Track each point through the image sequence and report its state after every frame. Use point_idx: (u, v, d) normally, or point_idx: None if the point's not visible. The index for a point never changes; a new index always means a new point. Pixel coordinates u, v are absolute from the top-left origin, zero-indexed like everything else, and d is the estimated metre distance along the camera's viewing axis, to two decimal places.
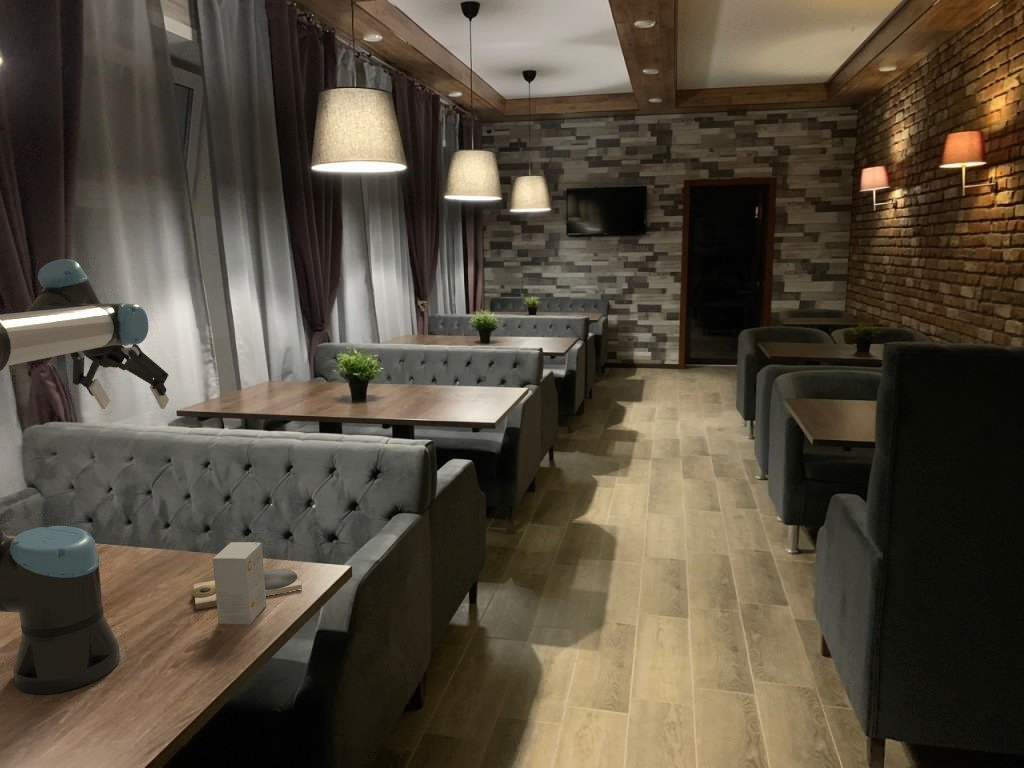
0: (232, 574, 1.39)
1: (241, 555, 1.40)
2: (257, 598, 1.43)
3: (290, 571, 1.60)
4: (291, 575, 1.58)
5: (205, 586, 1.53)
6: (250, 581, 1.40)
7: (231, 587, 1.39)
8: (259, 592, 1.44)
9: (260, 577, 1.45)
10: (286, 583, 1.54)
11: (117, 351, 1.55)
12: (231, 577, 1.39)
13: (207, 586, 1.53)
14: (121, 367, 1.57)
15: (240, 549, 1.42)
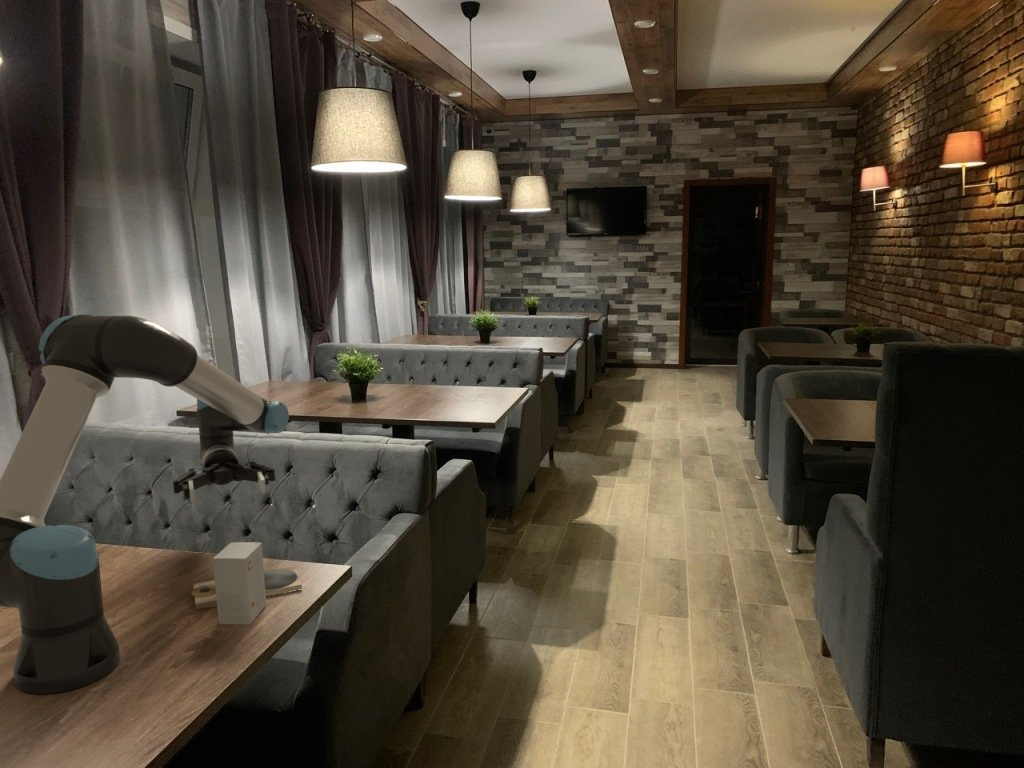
0: (232, 574, 1.39)
1: (241, 555, 1.40)
2: (257, 598, 1.43)
3: (290, 571, 1.60)
4: (291, 575, 1.58)
5: (205, 586, 1.53)
6: (250, 581, 1.40)
7: (231, 587, 1.39)
8: (259, 592, 1.44)
9: (260, 577, 1.45)
10: (286, 583, 1.54)
11: (238, 464, 1.70)
12: (231, 577, 1.39)
13: (207, 586, 1.53)
14: (237, 465, 1.66)
15: (240, 549, 1.42)
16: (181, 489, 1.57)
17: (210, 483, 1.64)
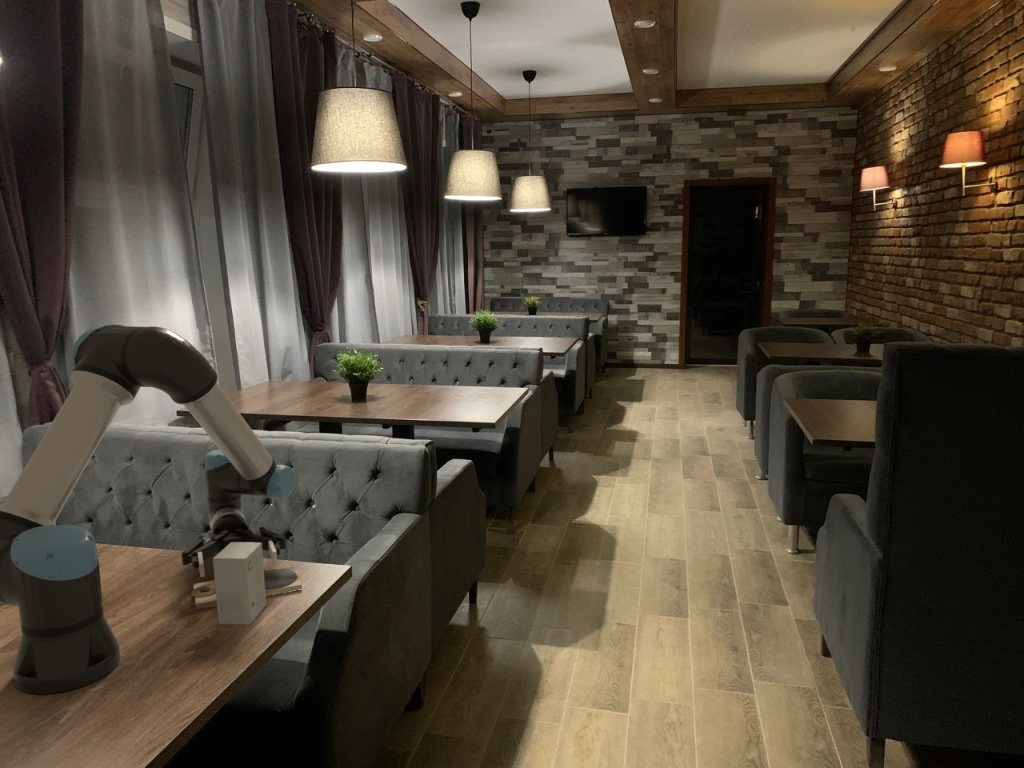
0: (232, 574, 1.39)
1: (241, 555, 1.40)
2: (257, 598, 1.43)
3: (290, 571, 1.60)
4: (291, 575, 1.58)
5: (205, 586, 1.53)
6: (250, 581, 1.40)
7: (231, 587, 1.39)
8: (259, 592, 1.44)
9: (260, 577, 1.45)
10: (286, 583, 1.54)
11: (248, 529, 1.66)
12: (231, 577, 1.39)
13: (207, 586, 1.53)
14: (247, 532, 1.62)
15: (240, 549, 1.42)
16: (190, 561, 1.52)
17: (219, 552, 1.59)
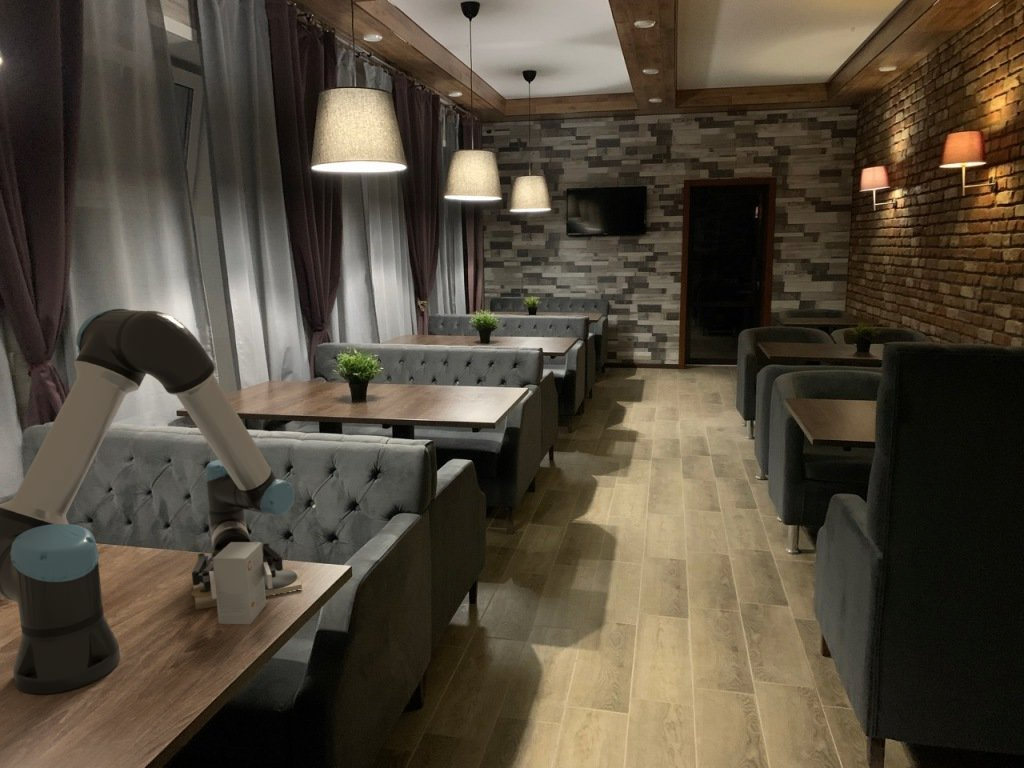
0: (232, 574, 1.39)
1: (241, 555, 1.40)
2: (257, 598, 1.43)
3: (290, 571, 1.60)
4: (291, 575, 1.58)
5: None
6: (250, 580, 1.40)
7: (231, 587, 1.39)
8: (259, 592, 1.44)
9: (260, 577, 1.45)
10: (286, 583, 1.54)
11: None
12: (231, 577, 1.39)
13: None
14: None
15: (240, 549, 1.42)
16: (201, 580, 1.42)
17: None
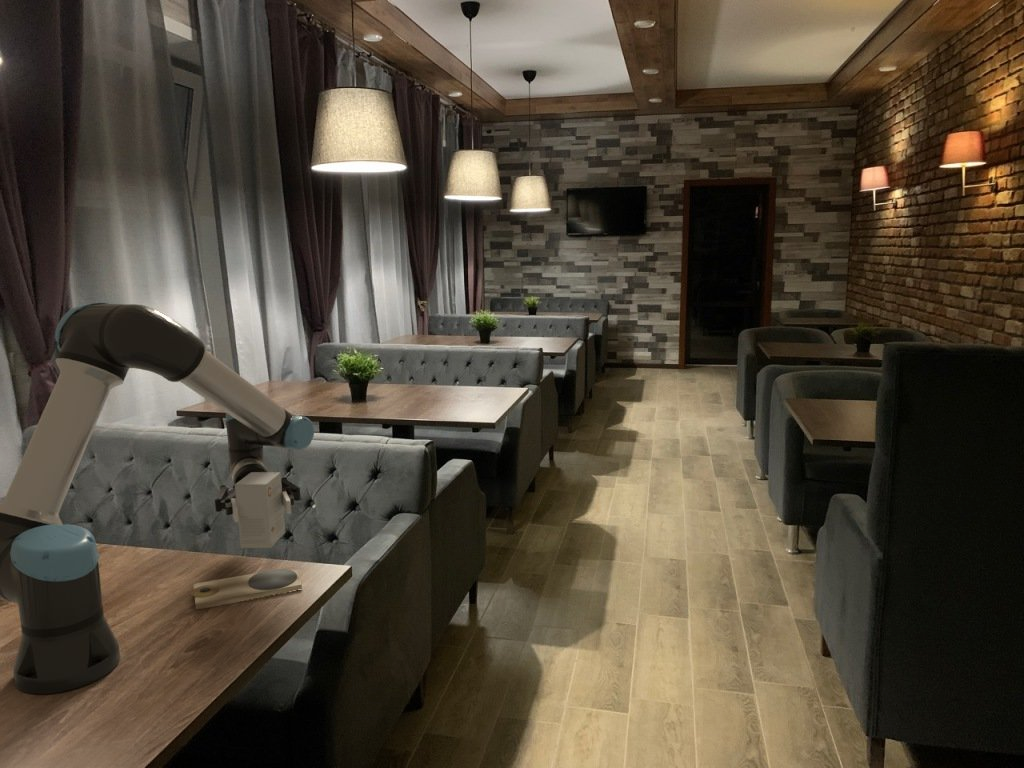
0: (253, 499, 1.46)
1: (261, 481, 1.46)
2: (276, 524, 1.50)
3: (290, 571, 1.60)
4: (291, 575, 1.58)
5: (205, 586, 1.53)
6: (270, 506, 1.47)
7: (252, 512, 1.46)
8: (278, 518, 1.51)
9: (279, 505, 1.52)
10: (286, 583, 1.54)
11: None
12: (252, 503, 1.46)
13: (207, 586, 1.53)
14: None
15: (260, 477, 1.49)
16: (223, 507, 1.50)
17: None
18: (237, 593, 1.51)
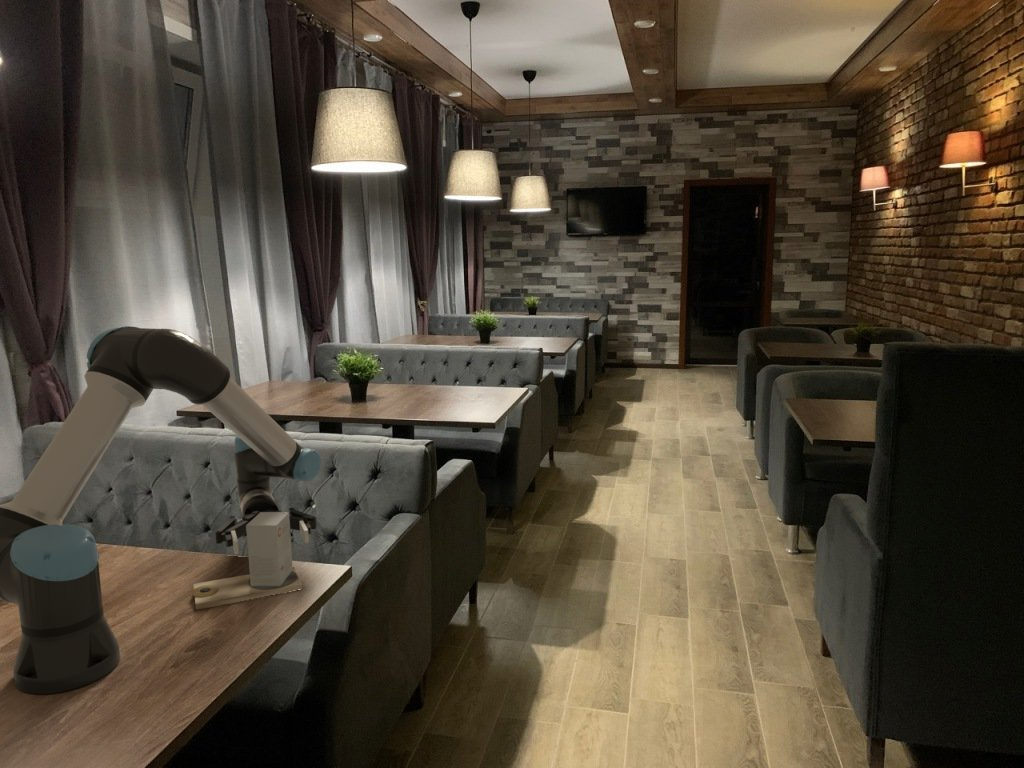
0: (264, 539, 1.51)
1: (271, 522, 1.52)
2: (285, 563, 1.56)
3: None
4: (291, 575, 1.58)
5: (205, 586, 1.53)
6: (280, 546, 1.53)
7: (263, 551, 1.52)
8: (287, 557, 1.57)
9: (288, 544, 1.57)
10: (286, 583, 1.54)
11: (278, 510, 1.68)
12: (263, 543, 1.51)
13: (207, 586, 1.53)
14: None
15: (270, 517, 1.55)
16: (223, 539, 1.55)
17: None
18: (237, 593, 1.51)
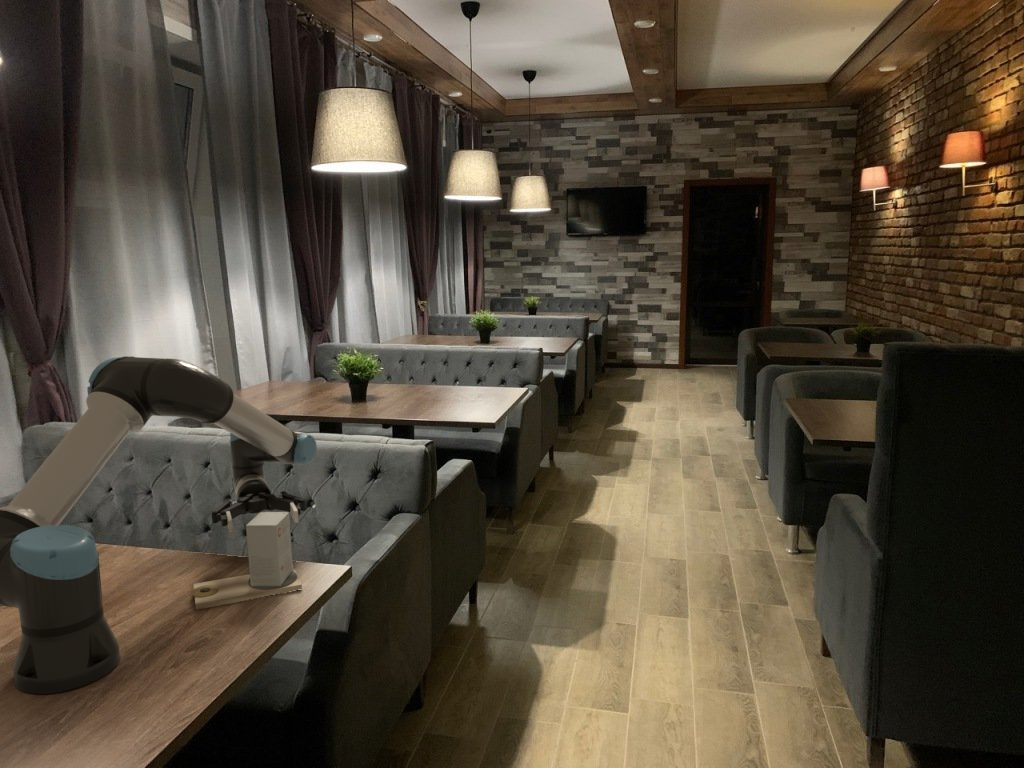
0: (264, 539, 1.51)
1: (271, 522, 1.52)
2: (285, 563, 1.56)
3: None
4: (291, 575, 1.58)
5: (205, 586, 1.53)
6: (280, 546, 1.53)
7: (263, 551, 1.52)
8: (287, 557, 1.57)
9: (288, 544, 1.57)
10: (286, 583, 1.54)
11: (270, 493, 1.80)
12: (263, 543, 1.51)
13: (207, 586, 1.53)
14: (270, 495, 1.76)
15: (270, 517, 1.55)
16: (219, 519, 1.67)
17: (245, 512, 1.74)
18: (237, 593, 1.51)
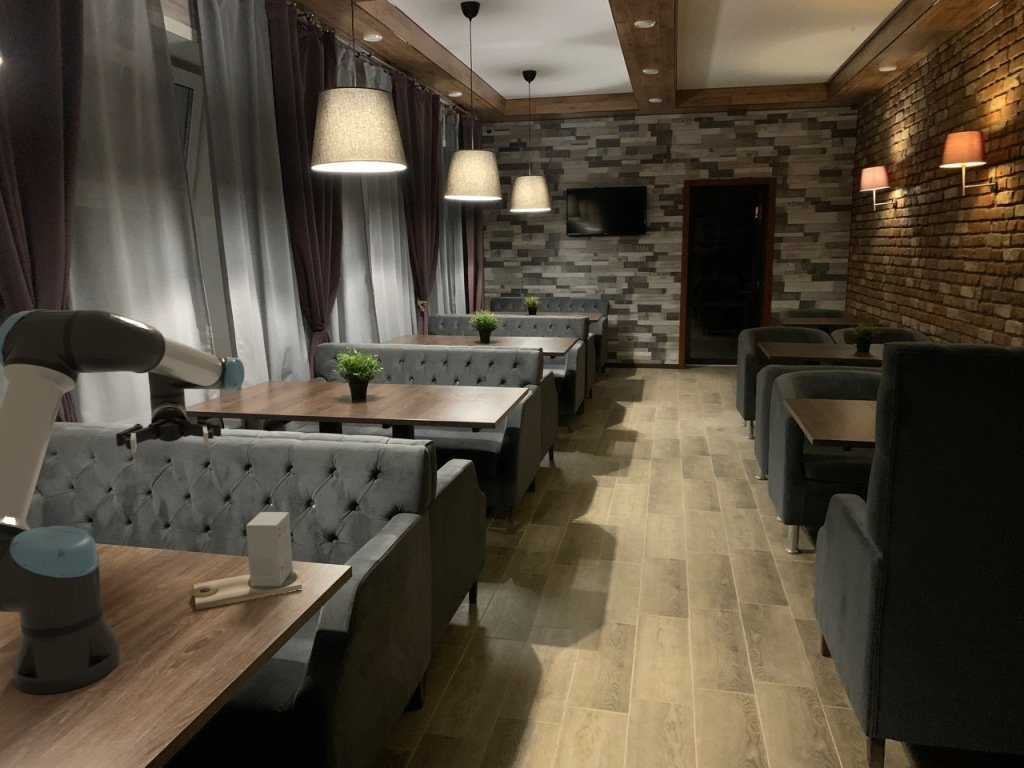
0: (264, 539, 1.51)
1: (271, 522, 1.52)
2: (285, 563, 1.56)
3: None
4: (291, 575, 1.58)
5: (205, 586, 1.53)
6: (280, 546, 1.53)
7: (263, 551, 1.52)
8: (287, 557, 1.57)
9: (288, 544, 1.57)
10: (286, 583, 1.54)
11: None
12: (263, 543, 1.51)
13: (207, 586, 1.53)
14: (184, 421, 1.66)
15: (270, 517, 1.55)
16: (124, 441, 1.56)
17: (155, 438, 1.64)
18: (237, 593, 1.51)
